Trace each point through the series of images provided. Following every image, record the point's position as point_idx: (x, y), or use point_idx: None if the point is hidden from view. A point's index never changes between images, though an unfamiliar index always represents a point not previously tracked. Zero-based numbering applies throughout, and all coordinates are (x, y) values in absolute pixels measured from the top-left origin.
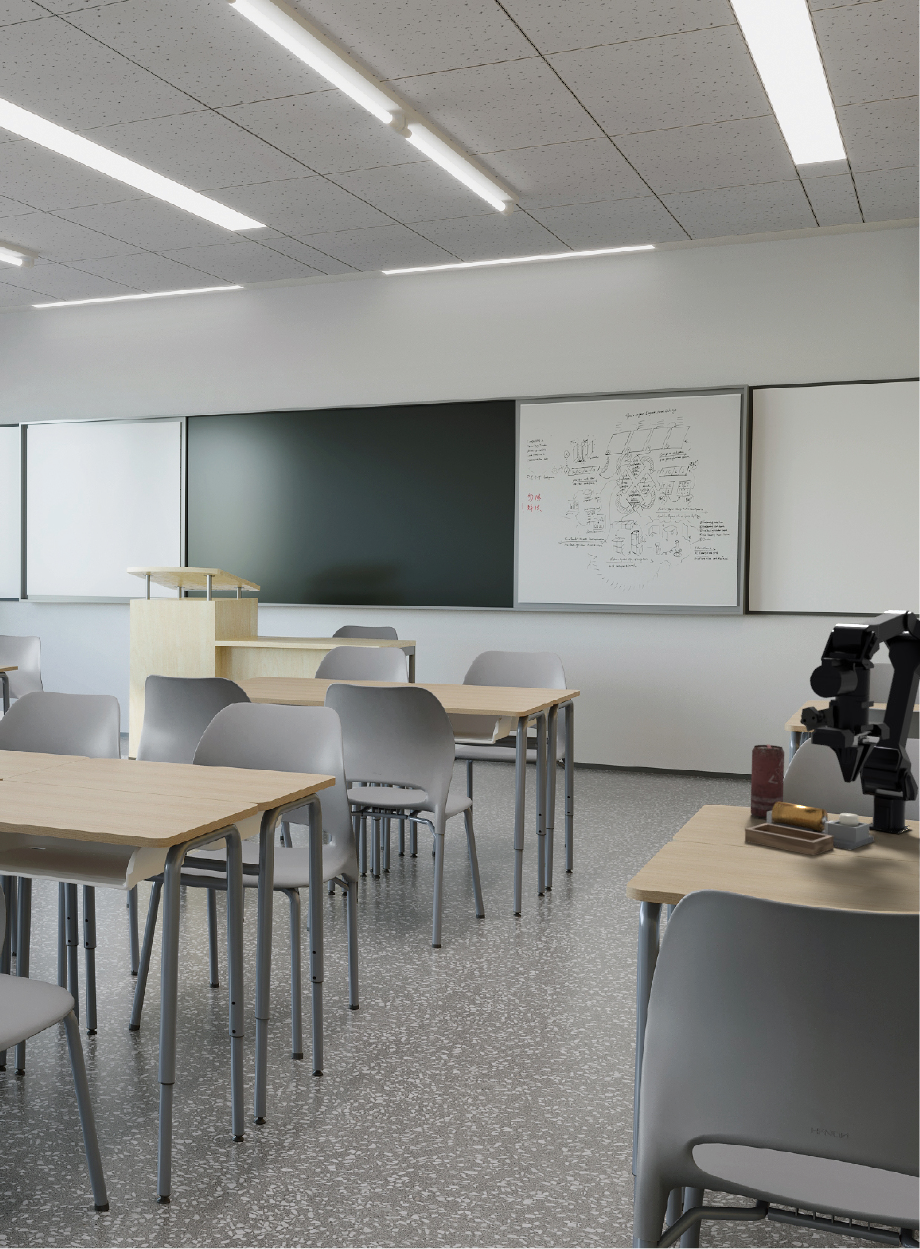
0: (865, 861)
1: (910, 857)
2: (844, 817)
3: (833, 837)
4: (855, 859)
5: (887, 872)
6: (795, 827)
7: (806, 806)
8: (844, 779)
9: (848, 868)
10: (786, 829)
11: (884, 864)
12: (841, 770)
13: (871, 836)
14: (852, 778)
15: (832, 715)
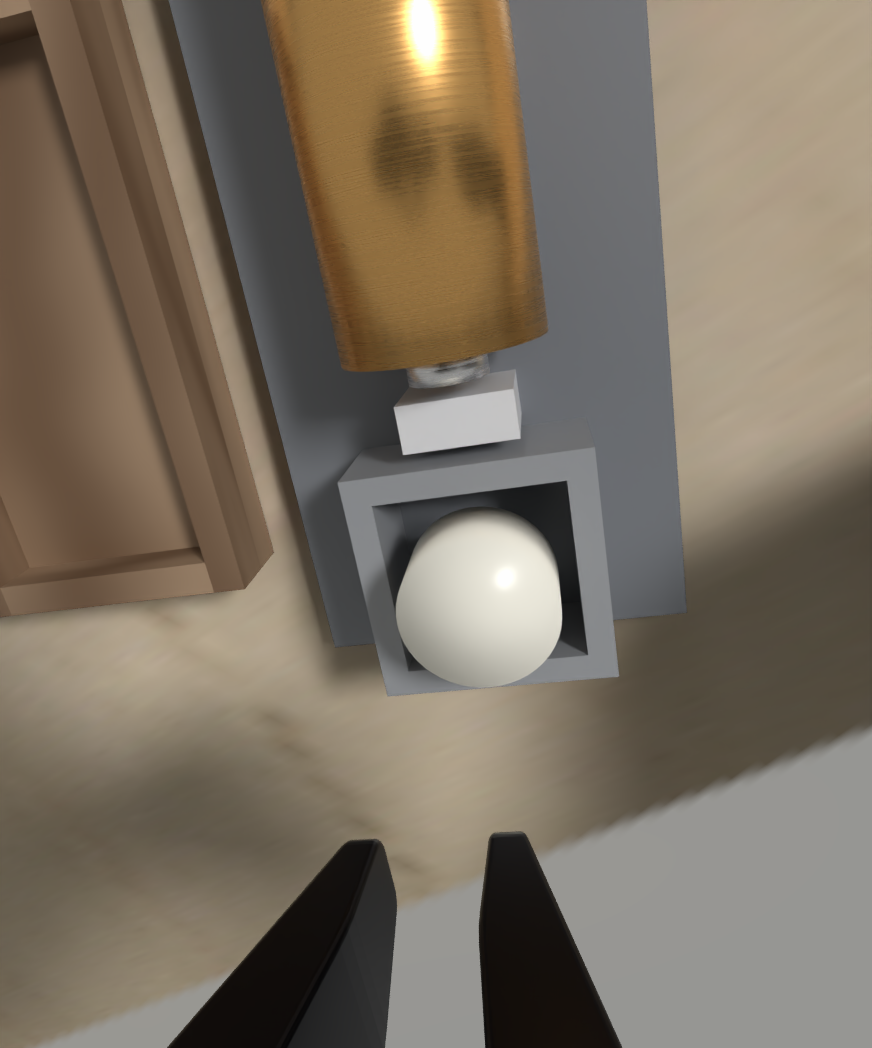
0: (218, 784)
1: None
2: (396, 619)
3: (246, 585)
4: (201, 740)
5: (157, 915)
6: None
7: (403, 145)
8: (331, 872)
9: (38, 799)
10: (105, 221)
11: (259, 855)
12: (230, 984)
13: (662, 610)
14: (388, 977)
15: None
